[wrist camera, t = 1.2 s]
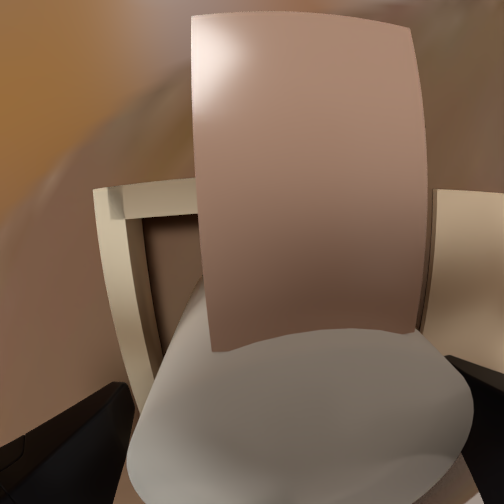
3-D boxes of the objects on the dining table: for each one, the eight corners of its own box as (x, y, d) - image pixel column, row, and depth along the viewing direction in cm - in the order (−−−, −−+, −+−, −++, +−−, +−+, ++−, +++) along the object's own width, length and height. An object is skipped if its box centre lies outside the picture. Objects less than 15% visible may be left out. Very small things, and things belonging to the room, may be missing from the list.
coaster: (526, 360, 12) (529, 363, 12) (401, 404, 12) (404, 408, 12) (558, 199, 10) (561, 200, 10) (432, 188, 10) (437, 189, 10)
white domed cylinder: (356, 389, 12) (416, 518, 5) (198, 400, 12) (173, 545, 5) (368, 112, 9) (515, 51, 3) (167, 117, 9) (45, 36, 3)
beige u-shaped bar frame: (352, 421, 12) (361, 443, 11) (161, 431, 12) (155, 453, 11) (374, 173, 10) (394, 173, 8) (112, 186, 10) (92, 189, 8)
